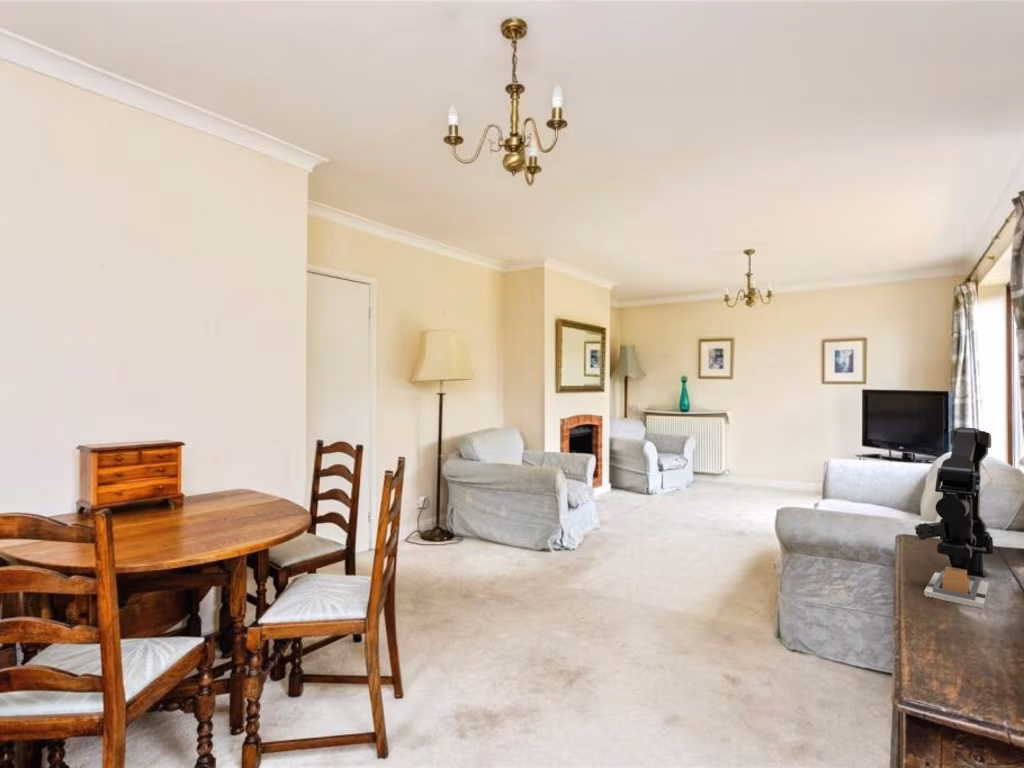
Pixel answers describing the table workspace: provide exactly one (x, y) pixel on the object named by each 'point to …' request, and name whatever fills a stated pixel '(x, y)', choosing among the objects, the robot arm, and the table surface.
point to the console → (973, 598)
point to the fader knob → (956, 580)
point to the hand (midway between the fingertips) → (957, 577)
